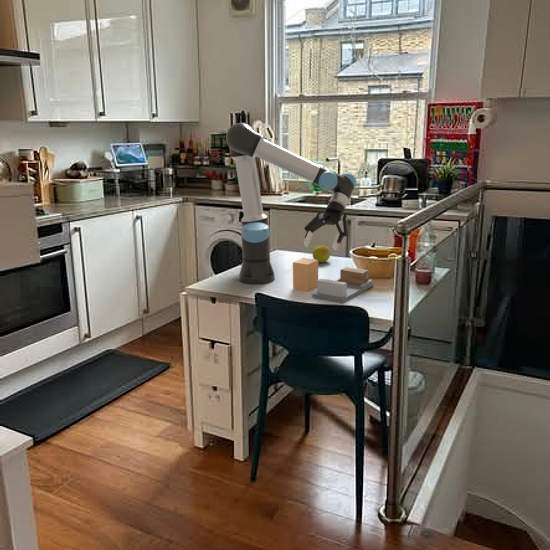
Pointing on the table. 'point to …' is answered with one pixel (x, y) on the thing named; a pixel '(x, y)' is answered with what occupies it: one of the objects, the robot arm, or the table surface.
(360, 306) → the table surface
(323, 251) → the lemon
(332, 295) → the vise
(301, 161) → the robot arm
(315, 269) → the block
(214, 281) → the table surface
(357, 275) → the block
